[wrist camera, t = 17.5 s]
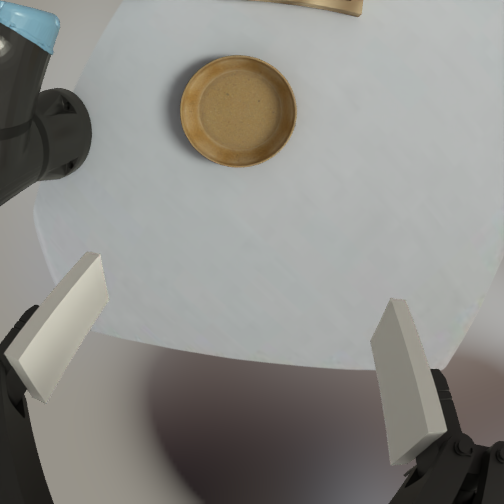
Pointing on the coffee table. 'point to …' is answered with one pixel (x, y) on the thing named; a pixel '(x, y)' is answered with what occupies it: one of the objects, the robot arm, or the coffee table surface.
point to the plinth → (327, 5)
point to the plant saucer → (238, 111)
